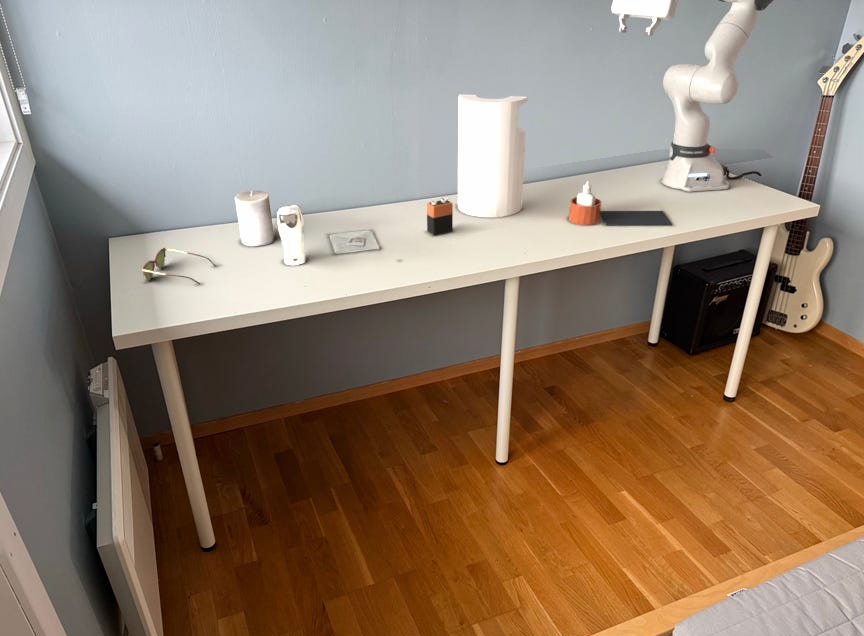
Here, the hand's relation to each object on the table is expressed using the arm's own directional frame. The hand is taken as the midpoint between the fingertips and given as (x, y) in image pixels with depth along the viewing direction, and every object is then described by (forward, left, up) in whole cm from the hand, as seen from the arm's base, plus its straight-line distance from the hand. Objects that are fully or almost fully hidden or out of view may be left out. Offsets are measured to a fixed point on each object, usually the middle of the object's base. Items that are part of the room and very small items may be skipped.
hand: (635, 33), depth 208 cm
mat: (-5, +11, -52) cm, 53 cm away
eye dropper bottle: (+11, +12, -52) cm, 54 cm away
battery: (+56, +22, -52) cm, 80 cm away
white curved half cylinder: (+41, +4, -52) cm, 67 cm away
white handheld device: (+96, +44, -52) cm, 118 cm away
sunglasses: (+125, +53, -52) cm, 146 cm away
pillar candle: (+110, +29, -52) cm, 126 cm away
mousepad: (+78, +34, -52) cm, 100 cm away
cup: (+11, +12, -52) cm, 54 cm away
